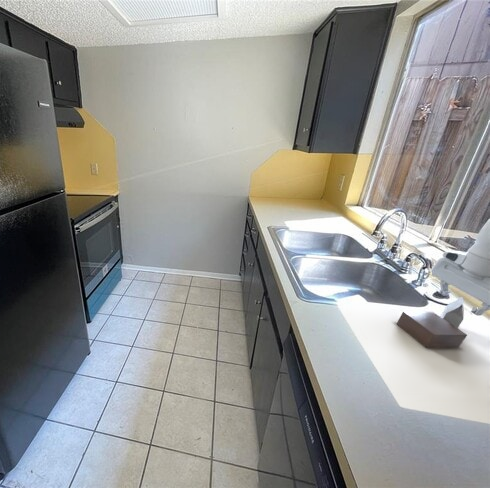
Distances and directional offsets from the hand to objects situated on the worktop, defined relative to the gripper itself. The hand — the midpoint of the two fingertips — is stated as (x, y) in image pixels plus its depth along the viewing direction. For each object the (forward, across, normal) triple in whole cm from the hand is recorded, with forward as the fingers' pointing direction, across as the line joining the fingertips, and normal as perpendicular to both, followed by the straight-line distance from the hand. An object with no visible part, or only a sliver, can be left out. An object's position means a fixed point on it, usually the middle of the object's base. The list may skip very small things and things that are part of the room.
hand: (458, 303), depth 80 cm
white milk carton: (+9, 0, 0) cm, 9 cm away
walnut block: (+9, -4, +10) cm, 14 cm away
